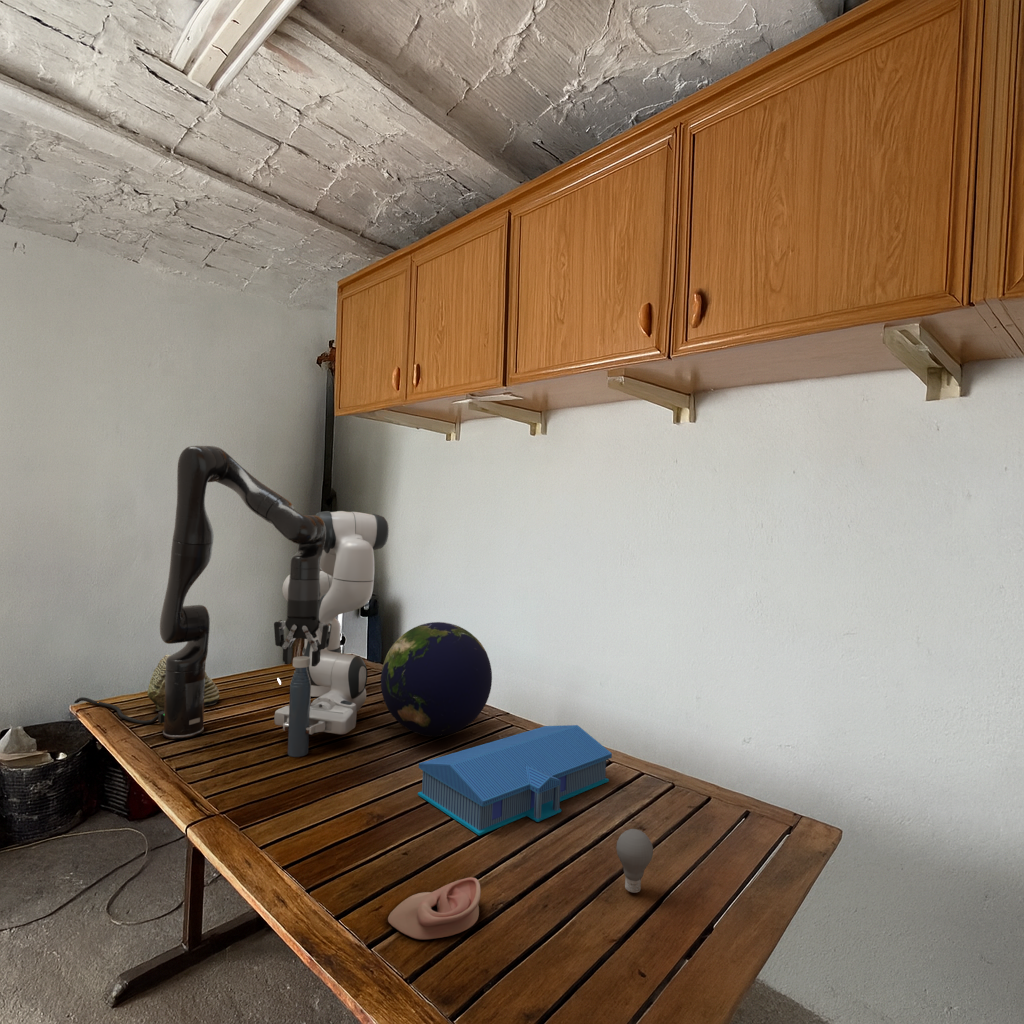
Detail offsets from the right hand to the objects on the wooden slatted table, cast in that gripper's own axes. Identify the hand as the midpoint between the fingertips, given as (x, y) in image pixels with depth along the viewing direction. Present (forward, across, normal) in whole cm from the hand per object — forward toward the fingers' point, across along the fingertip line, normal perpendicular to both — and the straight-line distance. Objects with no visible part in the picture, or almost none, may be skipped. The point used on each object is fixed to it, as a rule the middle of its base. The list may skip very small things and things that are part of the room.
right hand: (296, 729), depth 155 cm
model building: (0, +57, +6) cm, 57 cm away
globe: (-25, +26, +6) cm, 37 cm away
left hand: (-1, 0, -16) cm, 16 cm away
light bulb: (+30, +83, +6) cm, 88 cm away
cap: (-1, 0, -17) cm, 17 cm away
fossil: (-19, -49, +6) cm, 53 cm away
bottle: (-1, 0, +6) cm, 6 cm away
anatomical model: (+46, +54, +6) cm, 71 cm away
